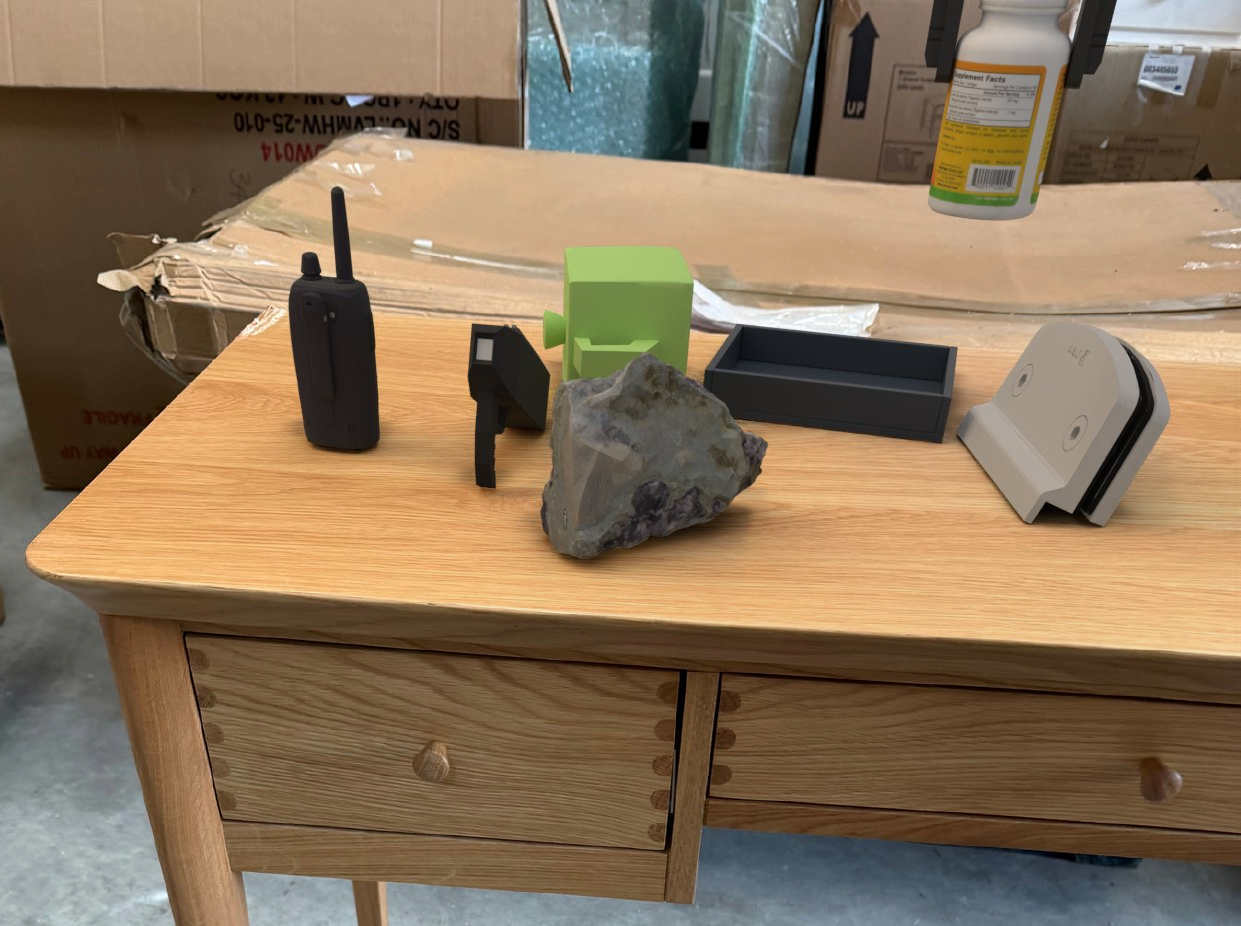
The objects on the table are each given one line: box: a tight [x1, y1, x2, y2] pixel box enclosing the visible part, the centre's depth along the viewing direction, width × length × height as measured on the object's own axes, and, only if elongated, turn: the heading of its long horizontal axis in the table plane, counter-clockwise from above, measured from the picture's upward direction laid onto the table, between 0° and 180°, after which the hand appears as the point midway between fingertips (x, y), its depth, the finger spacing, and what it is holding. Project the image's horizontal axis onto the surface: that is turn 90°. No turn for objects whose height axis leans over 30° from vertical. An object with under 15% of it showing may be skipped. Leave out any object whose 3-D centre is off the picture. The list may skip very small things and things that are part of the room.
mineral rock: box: [539, 352, 769, 560], centre depth 65 cm, size 13×11×10 cm
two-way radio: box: [287, 185, 381, 452], centre depth 73 cm, size 6×4×15 cm
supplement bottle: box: [927, 0, 1072, 222], centre depth 57 cm, size 5×5×10 cm
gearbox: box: [542, 245, 695, 382], centre depth 85 cm, size 18×10×10 cm, turn 2°
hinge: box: [955, 320, 1172, 527], centre depth 75 cm, size 17×5×10 cm, turn 1°
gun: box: [467, 323, 551, 490], centre depth 76 cm, size 3×16×10 cm, turn 170°
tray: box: [702, 323, 959, 444], centre depth 87 cm, size 17×13×3 cm
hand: (1005, 82), depth 57 cm, fingers closed on supplement bottle, 5 cm apart
